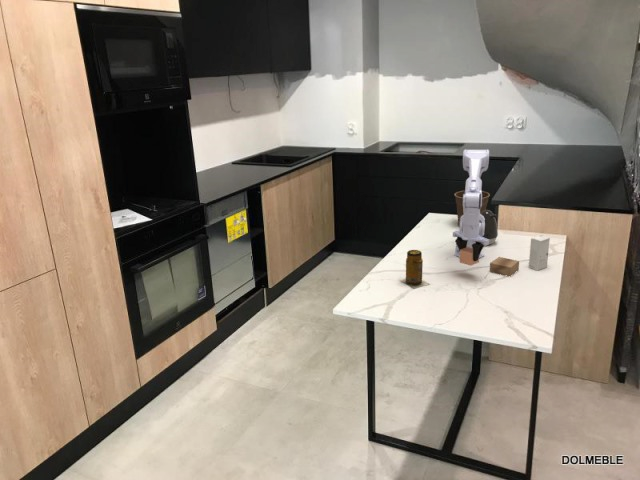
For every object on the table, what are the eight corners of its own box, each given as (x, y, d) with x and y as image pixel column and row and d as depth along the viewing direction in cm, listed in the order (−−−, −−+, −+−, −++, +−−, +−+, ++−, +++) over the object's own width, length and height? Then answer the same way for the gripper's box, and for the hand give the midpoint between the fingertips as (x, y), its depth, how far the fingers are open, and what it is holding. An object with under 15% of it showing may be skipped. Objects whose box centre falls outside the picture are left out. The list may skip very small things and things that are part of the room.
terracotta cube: (459, 262, 190) (460, 249, 189) (467, 258, 193) (468, 246, 192) (470, 265, 187) (471, 253, 185) (478, 262, 190) (479, 249, 188)
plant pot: (454, 231, 241) (456, 198, 236) (451, 221, 256) (453, 190, 251) (490, 231, 239) (492, 198, 233) (485, 221, 254) (487, 189, 248)
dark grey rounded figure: (485, 248, 218) (487, 214, 213) (468, 242, 226) (469, 209, 221) (502, 244, 222) (505, 210, 217) (485, 237, 231) (487, 205, 226)
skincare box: (538, 270, 193) (541, 241, 189) (527, 267, 196) (530, 238, 192) (547, 267, 196) (550, 237, 192) (537, 263, 199) (540, 234, 195)
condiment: (416, 276, 193) (416, 247, 189) (430, 284, 186) (430, 254, 182) (400, 280, 190) (400, 251, 186) (413, 288, 183) (414, 258, 179)
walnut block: (489, 272, 194) (490, 263, 193) (498, 266, 200) (499, 256, 198) (510, 277, 189) (510, 267, 188) (518, 270, 195) (519, 261, 193)
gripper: (448, 222, 188) (446, 256, 193) (481, 231, 177) (479, 266, 182) (459, 218, 192) (458, 251, 197) (493, 226, 182) (490, 261, 186)
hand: (469, 258), depth 190 cm, fingers closed on terracotta cube, 5 cm apart
